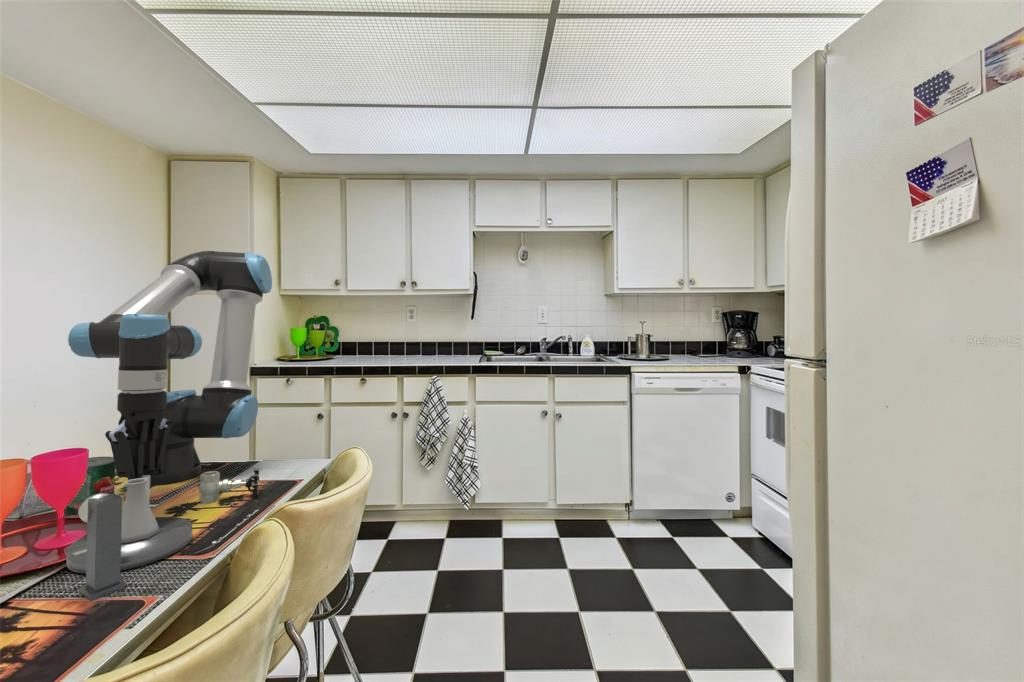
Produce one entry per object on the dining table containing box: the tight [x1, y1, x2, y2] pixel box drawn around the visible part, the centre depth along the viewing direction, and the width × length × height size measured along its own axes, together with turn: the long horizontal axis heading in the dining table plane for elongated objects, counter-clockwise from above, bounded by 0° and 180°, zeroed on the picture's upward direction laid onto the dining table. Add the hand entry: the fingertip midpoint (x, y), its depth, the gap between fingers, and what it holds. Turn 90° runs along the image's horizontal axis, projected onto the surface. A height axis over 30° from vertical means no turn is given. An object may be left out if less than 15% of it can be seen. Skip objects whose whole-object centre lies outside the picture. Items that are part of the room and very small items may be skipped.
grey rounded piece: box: [65, 492, 193, 574], centre depth 78 cm, size 17×17×8 cm
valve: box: [198, 468, 260, 504], centre depth 104 cm, size 7×7×12 cm
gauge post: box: [78, 493, 127, 601], centre depth 66 cm, size 4×5×14 cm
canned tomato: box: [65, 456, 116, 519], centre depth 94 cm, size 8×8×11 cm
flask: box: [121, 478, 159, 543], centre depth 78 cm, size 7×7×10 cm
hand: (139, 508), depth 86 cm, fingers closed
